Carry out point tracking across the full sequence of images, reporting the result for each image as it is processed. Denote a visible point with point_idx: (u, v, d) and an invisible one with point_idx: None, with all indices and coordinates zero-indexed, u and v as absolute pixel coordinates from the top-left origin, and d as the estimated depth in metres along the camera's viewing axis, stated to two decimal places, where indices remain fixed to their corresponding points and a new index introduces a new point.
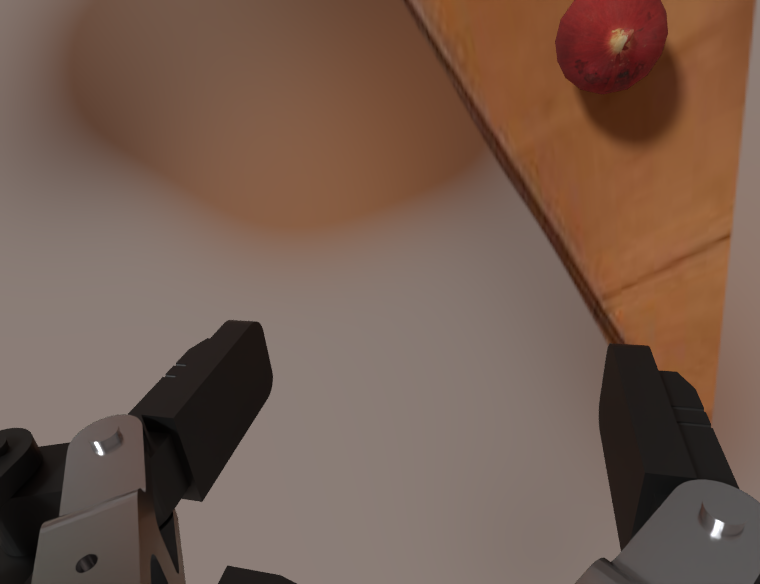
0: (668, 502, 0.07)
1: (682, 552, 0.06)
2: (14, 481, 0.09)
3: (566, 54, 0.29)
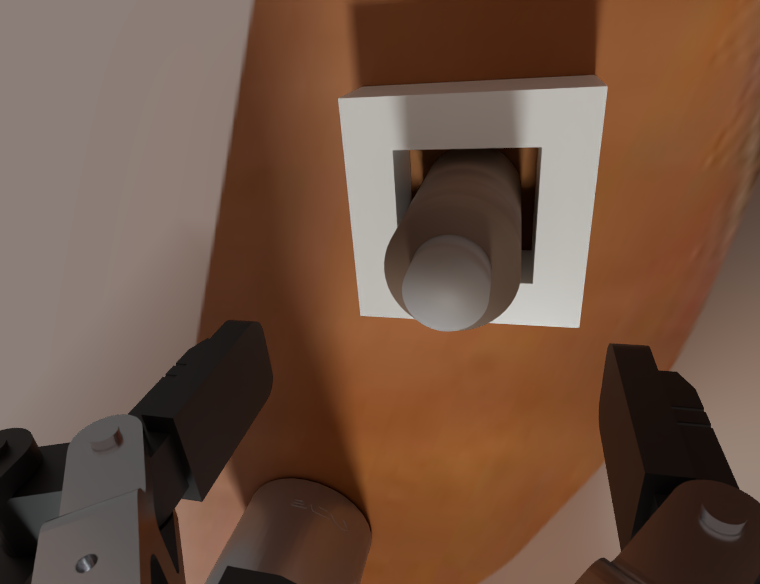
0: (668, 502, 0.07)
1: (682, 552, 0.06)
2: (14, 481, 0.09)
3: None
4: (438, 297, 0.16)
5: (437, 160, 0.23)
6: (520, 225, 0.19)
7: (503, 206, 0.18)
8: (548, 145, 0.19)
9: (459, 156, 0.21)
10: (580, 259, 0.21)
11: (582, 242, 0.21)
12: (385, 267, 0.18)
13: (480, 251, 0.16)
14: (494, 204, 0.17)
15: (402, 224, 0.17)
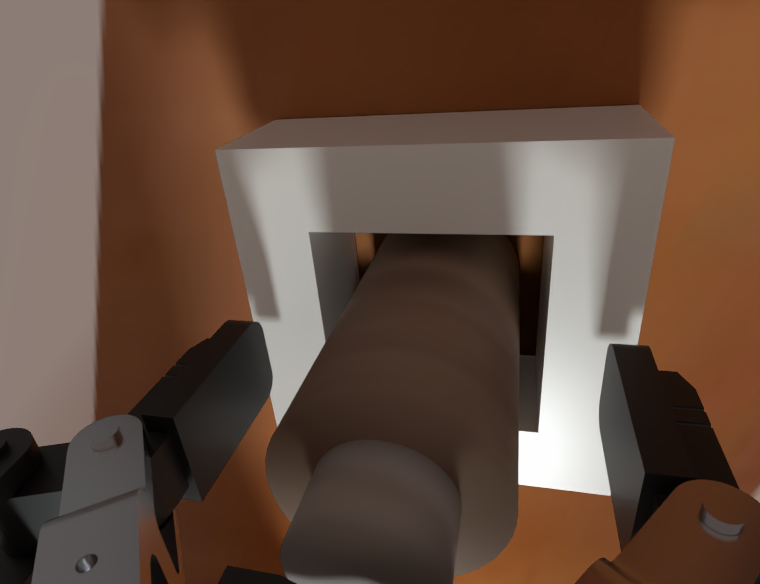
0: (668, 502, 0.07)
1: (682, 552, 0.06)
2: (14, 481, 0.09)
3: None
4: (351, 582, 0.08)
5: None
6: (517, 373, 0.11)
7: (485, 362, 0.10)
8: (565, 233, 0.11)
9: (420, 235, 0.14)
10: None
11: None
12: (269, 474, 0.10)
13: (436, 479, 0.08)
14: (466, 367, 0.09)
15: (290, 414, 0.09)
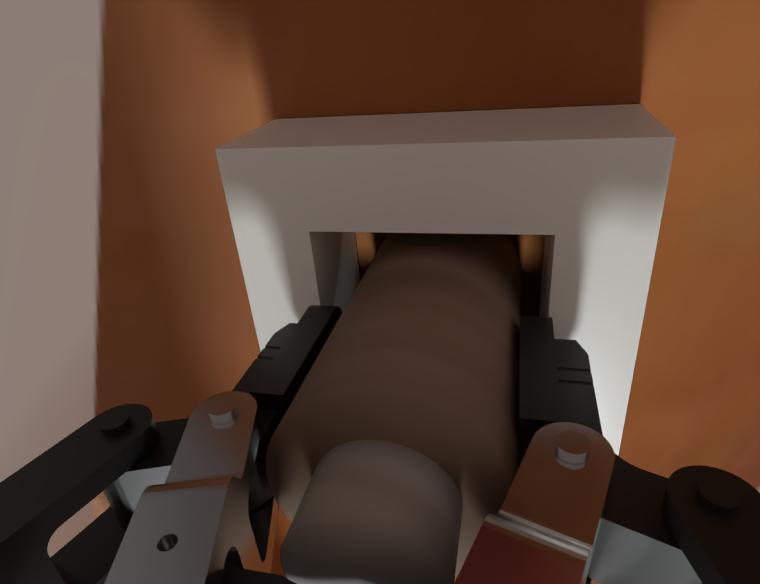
0: (530, 439, 0.08)
1: (530, 476, 0.08)
2: (140, 454, 0.09)
3: None
4: (351, 582, 0.08)
5: None
6: (518, 372, 0.11)
7: (486, 362, 0.10)
8: (566, 232, 0.11)
9: (421, 234, 0.13)
10: (615, 403, 0.13)
11: (620, 380, 0.13)
12: (270, 474, 0.10)
13: (438, 479, 0.08)
14: (467, 367, 0.09)
15: (290, 414, 0.09)
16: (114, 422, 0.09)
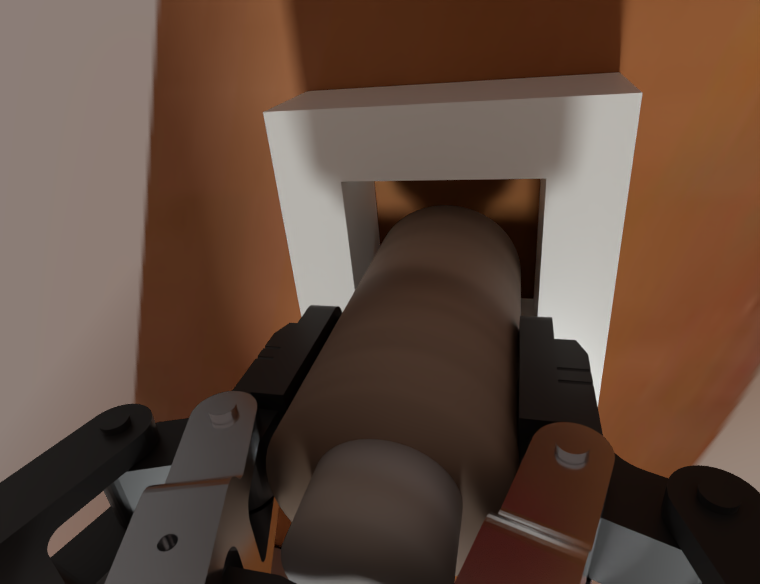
0: (530, 440, 0.08)
1: (530, 476, 0.08)
2: (140, 454, 0.09)
3: None
4: (352, 581, 0.08)
5: (393, 229, 0.15)
6: (518, 372, 0.11)
7: (486, 361, 0.10)
8: (555, 176, 0.14)
9: (421, 234, 0.13)
10: (599, 326, 0.15)
11: (602, 305, 0.15)
12: (270, 474, 0.10)
13: (438, 479, 0.08)
14: (467, 366, 0.09)
15: (291, 413, 0.09)
16: (114, 421, 0.09)
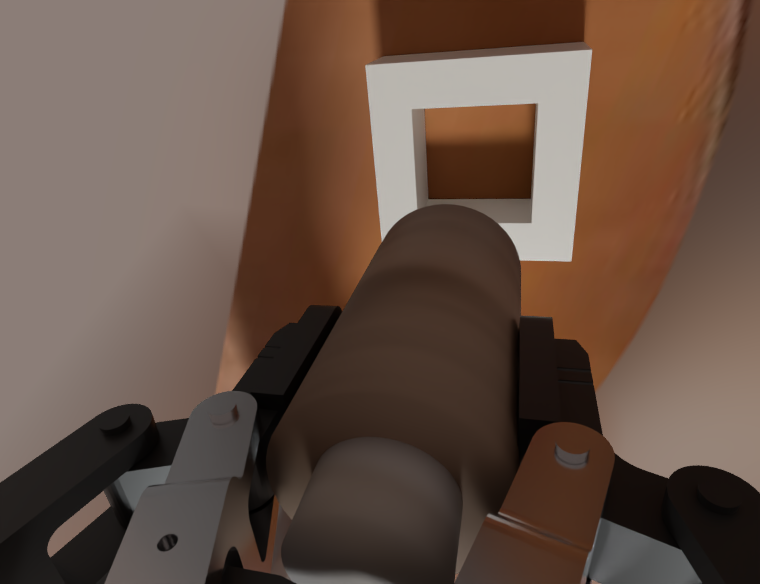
0: (530, 440, 0.08)
1: (530, 476, 0.08)
2: (140, 454, 0.09)
3: None
4: (352, 579, 0.08)
5: (393, 228, 0.15)
6: (518, 370, 0.11)
7: (486, 359, 0.10)
8: (543, 101, 0.23)
9: (421, 232, 0.13)
10: (571, 200, 0.25)
11: (573, 185, 0.24)
12: (271, 472, 0.10)
13: (438, 476, 0.08)
14: (467, 364, 0.09)
15: (291, 411, 0.09)
16: (114, 421, 0.09)
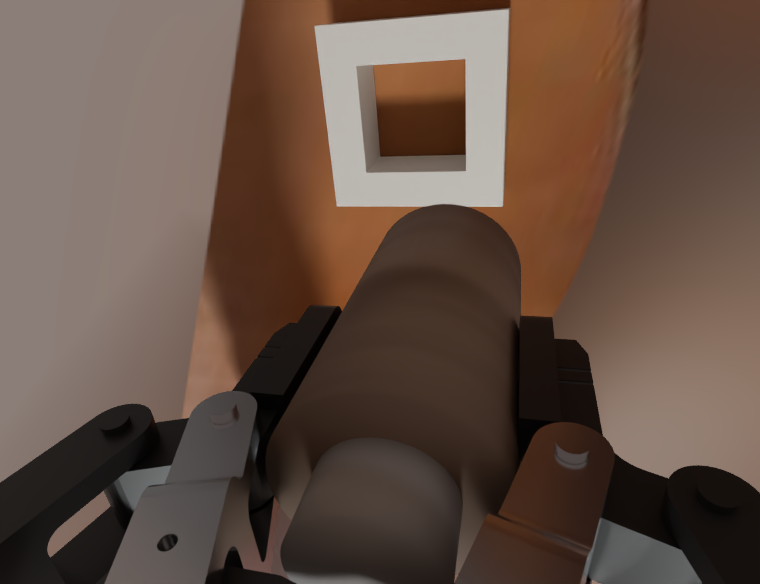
0: (530, 440, 0.08)
1: (530, 476, 0.08)
2: (140, 454, 0.09)
3: None
4: (351, 580, 0.08)
5: (393, 228, 0.15)
6: (518, 371, 0.11)
7: (486, 359, 0.10)
8: (470, 57, 0.26)
9: (421, 232, 0.13)
10: (499, 148, 0.28)
11: (500, 134, 0.27)
12: (269, 473, 0.10)
13: (437, 476, 0.08)
14: (467, 364, 0.09)
15: (290, 412, 0.09)
16: (114, 422, 0.09)
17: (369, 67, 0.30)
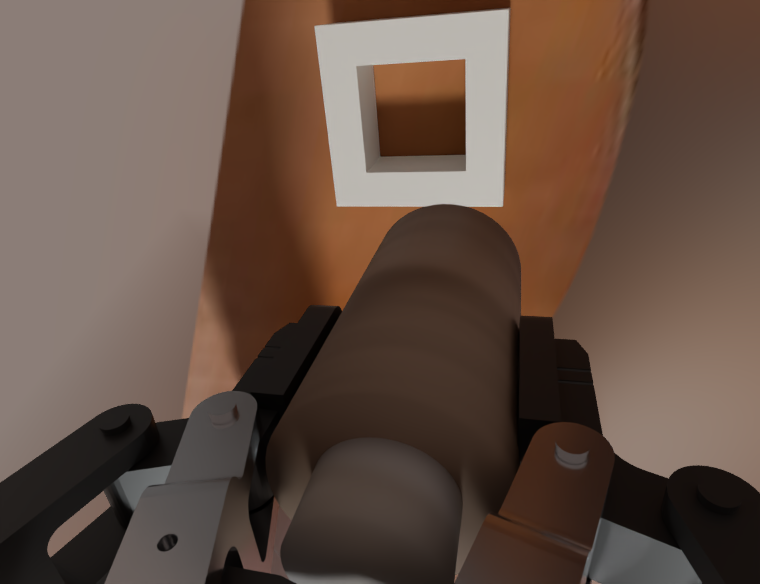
0: (530, 440, 0.08)
1: (530, 476, 0.08)
2: (140, 454, 0.09)
3: None
4: (351, 580, 0.08)
5: (393, 228, 0.15)
6: (518, 371, 0.11)
7: (486, 359, 0.10)
8: (470, 57, 0.26)
9: (421, 232, 0.13)
10: (499, 148, 0.28)
11: (500, 134, 0.27)
12: (269, 473, 0.10)
13: (437, 476, 0.08)
14: (467, 364, 0.09)
15: (290, 412, 0.09)
16: (114, 422, 0.09)
17: (369, 67, 0.30)
